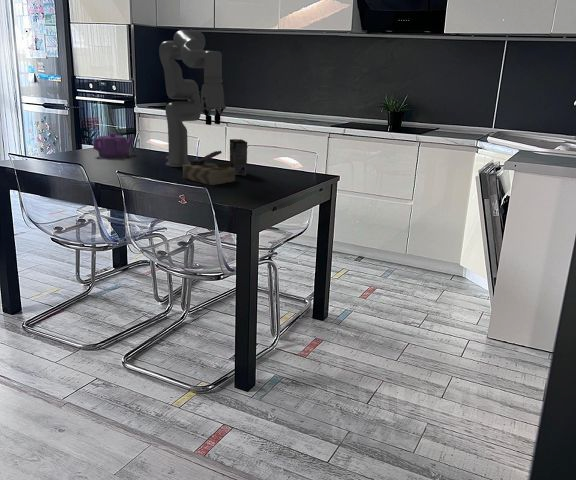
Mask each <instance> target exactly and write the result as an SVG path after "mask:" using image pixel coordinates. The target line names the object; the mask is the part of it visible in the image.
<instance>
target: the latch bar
mask: <svg viewBox="0 0 576 480" xmlns="http://www.w3.org/2000/svg"><path fill="white" fill-rule="evenodd" d="M221 154H223V152H222V150H218V151H217V150H216V151H212V152H211V153H209V154H206V155H204V156H203V157H201V158H199V159H197V160H195V164H200V163H203V162H208V160H210V159H212V158H214V157H217V156H218V155H221Z"/></svg>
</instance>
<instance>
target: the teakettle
mask: <svg viewBox="0 0 576 480" xmlns="http://www.w3.org/2000/svg"><path fill="white" fill-rule="evenodd" d="M133 140H134V137H128V138H127V137H126V136H123V135H119V134H118V135H116V133H115V132H110V133H109V135H100V136H98V138H93V146H92V147H93V150H96V151H98V155H99V156H100V157H102V158H105V159H112V158H113V159H115V158H125V157H126V158H128V157H129V155H130V147H131V145H132V143H133V142H134V141H133Z"/></svg>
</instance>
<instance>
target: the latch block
mask: <svg viewBox="0 0 576 480" xmlns="http://www.w3.org/2000/svg"><path fill="white" fill-rule="evenodd" d="M195 161H196V160H195ZM195 161H194V160H190V161H189V162H190V164H187V165H183V167H182V178H183V179H185V180H190V181H193V182H197V183H202V184H205V185H208V186H216V185H220V184H226V183H227V182H228V183H233V181H234V182H236V176H235V168H232V167H230V166H228V165H229V164H228V163H220V164H218V163H214V162H208V161H205V162H203V163H200V164H195Z"/></svg>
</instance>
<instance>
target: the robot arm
mask: <svg viewBox="0 0 576 480" xmlns="http://www.w3.org/2000/svg"><path fill="white" fill-rule="evenodd" d="M205 46H206V38H205V35H204V34H203V32H201V31H200V30H187V29H180V30H178V31H176V32H175V33H174V35H173V40H166V41H162V42H161V43H160V45H159V48H158V52H159V53H158V54H159V59H160V62H161V65H162V68H163V72H164V80H165V81H164V83H165V90H166V95H167V96H168V98H169V99H171V100H172V99H173V100H187V101H171V102H168V103H167V104H166V106H165V111H164V112H165V116H166V122H167V123H166V124H167V135H168V136H167V143H168V155H167V156H166V157H165V160H167V161H166V162H165V166H167V167H173V168H183V165H187V164H190V161H189V158H188V157H189V156H188V155H189V152H188V150H189V149H188V148H189V146H188V129H187V126H186V125H185V124H184V122H195V121H196V122H197V121H199V120H200V118H201V114H202V113H203V115H204V116H205V125H207V126H211V125H212V119H213V118H212V115H211V113H212V109H214V111H215V114H214V122H213V123H214V124H215V125H221V115H222V114H223V112H224V110H226V108H227V105H226V103H225V91H224V85H223V84H222V82H224V80H223V78H222V77H223V76H222V75H223V73H222V70H223V68H222V67H223V64H222V63H223V62H222V60H223V59H222V58H223V57H222V56H223V54H222V52H221V51H217V50H216V51H215V50H205V49H204V48H205ZM176 60H178V61H179V60H180V61H181V60H182V63H183V64H184V65H185V66H187V67H188V68H191V69H203V82H204V83H202V85H201V90H199V85H198V83H197V82H196V81H195V80H194V79H186V78H185V79H184V77H183V70H182V68H181V66H180V64H179V63H178V62H177V61H176ZM200 91H201V92H200Z"/></svg>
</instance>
